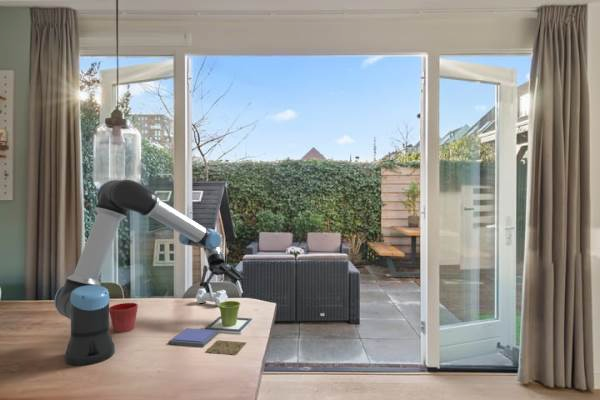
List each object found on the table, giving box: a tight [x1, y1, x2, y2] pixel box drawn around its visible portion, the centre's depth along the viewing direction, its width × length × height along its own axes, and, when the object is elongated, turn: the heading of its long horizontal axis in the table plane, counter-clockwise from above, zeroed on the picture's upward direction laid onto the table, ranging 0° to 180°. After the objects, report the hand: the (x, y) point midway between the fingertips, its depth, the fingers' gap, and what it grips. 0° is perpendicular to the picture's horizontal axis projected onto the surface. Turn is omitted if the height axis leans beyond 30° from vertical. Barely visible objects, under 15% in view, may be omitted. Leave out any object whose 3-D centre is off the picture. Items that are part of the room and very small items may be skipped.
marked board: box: [204, 315, 254, 335], centre depth 161 cm, size 16×16×1 cm
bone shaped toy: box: [195, 287, 228, 307], centre depth 194 cm, size 15×9×8 cm, turn 64°
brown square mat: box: [204, 339, 247, 356], centre depth 138 cm, size 12×12×1 cm
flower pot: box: [109, 302, 139, 333], centre depth 157 cm, size 11×11×10 cm
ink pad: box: [168, 327, 220, 348], centre depth 147 cm, size 14×14×2 cm
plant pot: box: [218, 300, 241, 326], centre depth 161 cm, size 9×9×9 cm
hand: (227, 296), depth 165 cm, fingers open, 13 cm apart
